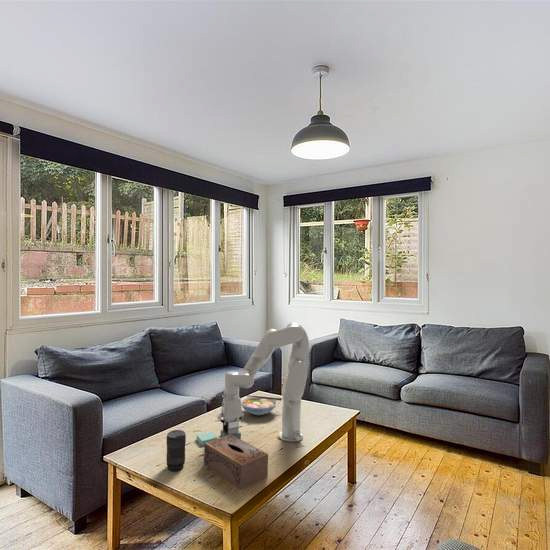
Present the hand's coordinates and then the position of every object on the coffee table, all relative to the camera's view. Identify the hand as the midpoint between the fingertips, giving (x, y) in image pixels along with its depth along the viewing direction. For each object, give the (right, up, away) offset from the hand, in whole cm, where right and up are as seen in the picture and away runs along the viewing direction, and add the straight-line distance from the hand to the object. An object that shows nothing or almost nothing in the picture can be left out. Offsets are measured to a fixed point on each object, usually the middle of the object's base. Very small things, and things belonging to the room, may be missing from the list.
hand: (230, 430), depth 201 cm
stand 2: (0, -3, 0) cm, 3 cm away
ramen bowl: (+13, -3, +33) cm, 36 cm away
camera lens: (-20, -3, -33) cm, 39 cm away
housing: (0, -1, 0) cm, 1 cm away
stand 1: (-11, -3, -6) cm, 13 cm away
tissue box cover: (+6, -4, -34) cm, 35 cm away
